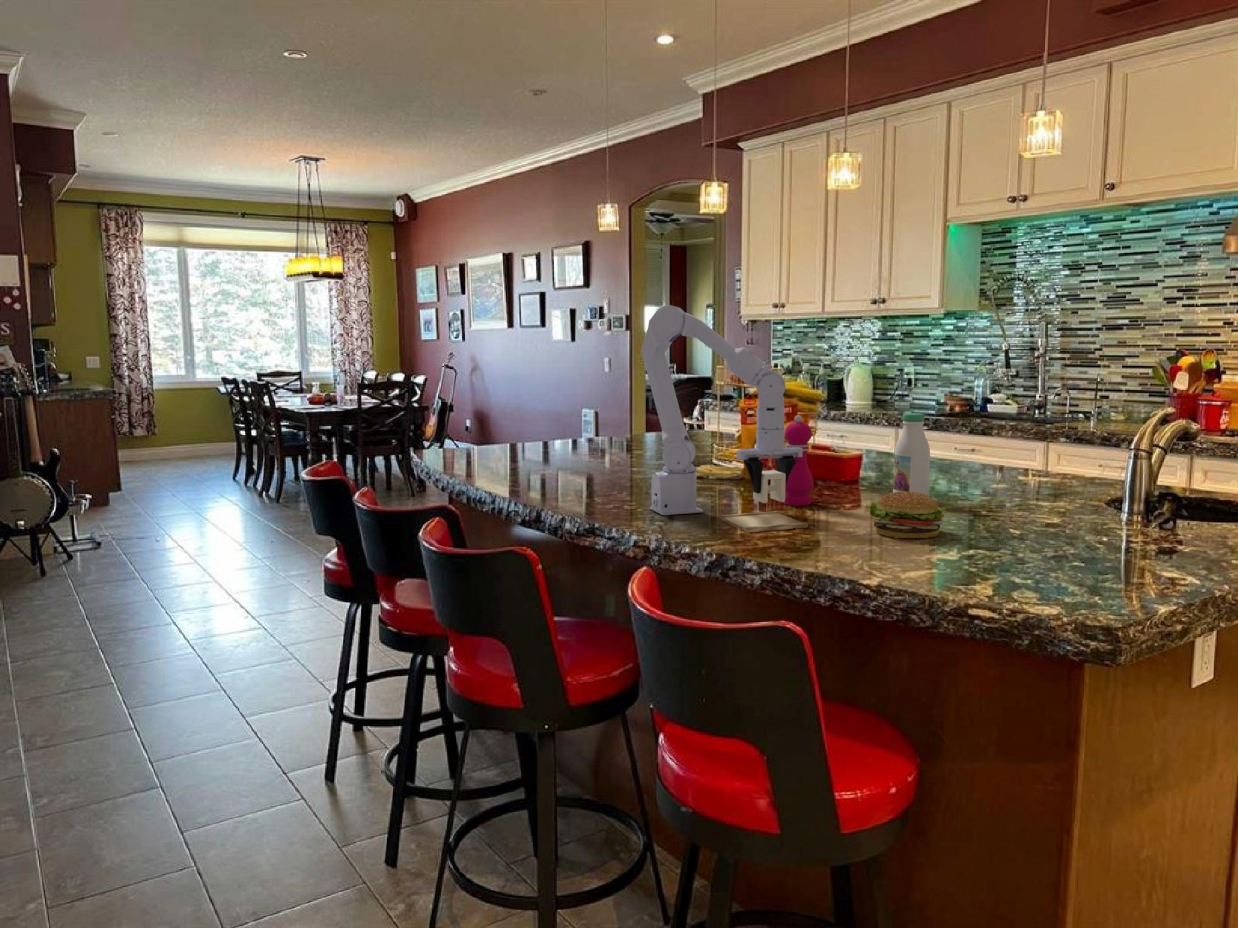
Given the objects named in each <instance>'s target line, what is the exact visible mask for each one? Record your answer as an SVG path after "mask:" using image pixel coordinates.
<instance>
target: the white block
mask: <svg viewBox="0 0 1238 928" xmlns="http://www.w3.org/2000/svg"><path fill="white" fill-rule="evenodd" d="M769 480H770V484H769ZM785 480H786V474H785V473H782V472H778V471H777V470H775V469H772V470H762V476H761V493H755V492H753V491H752V500H755V501H757V502H760V503H761V504H762V503H763V504H768V501H769V500H768V495H769V494H768V493H769V492H770V495H769V496H770V497H769V498H770V499H772V500H774V501H777V502H780V503H783V502H785V494H786V493H785Z"/></svg>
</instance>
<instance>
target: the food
mask: <svg viewBox="0 0 1238 928" xmlns="http://www.w3.org/2000/svg"><path fill="white" fill-rule="evenodd" d="M946 511H947V507H946V508H945V507H944V506H940V505H939V504H938V502H937V500H935V498H933V497H931V496H930V495H929V496H928V495H925V494H921V493H918V492H908V491H907V492H906V491H905V492H895V493H893V492H891V493H888V494H886V495H883V496H882V497H881V498H880V499H879V500H878V502H874V501H873V502H871V503H870V509H869V515H871V516H872V517H874V518H875V519H873V526H874V529H875V532H876V533H878V534H880V535H882V534H883V535H882V536H885V535H887V536H886V537H889V536H890V538H894V537H897V538H896V539H902V538H913V539H912V540H915V539H914V538H925V539H929V538H930V537H931V538H935V537H937V536H938V535H939V533H940V528H941V525H942V524H943V523H944V521H943V518H944V517H945V514H944V513H943V512H946Z"/></svg>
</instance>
